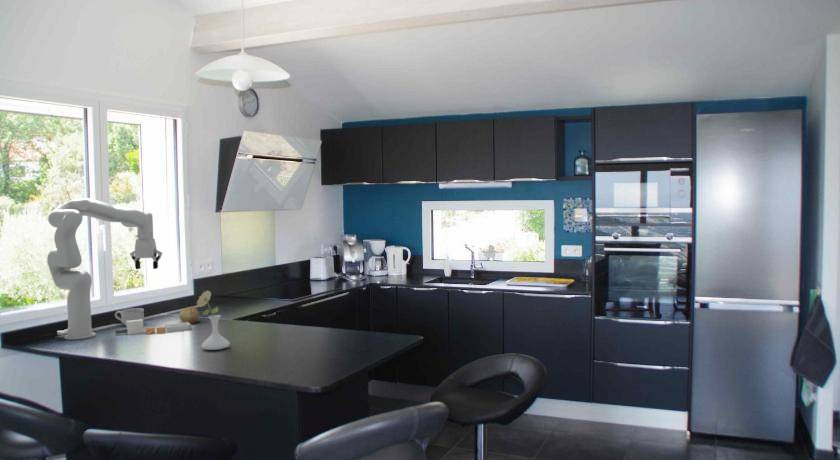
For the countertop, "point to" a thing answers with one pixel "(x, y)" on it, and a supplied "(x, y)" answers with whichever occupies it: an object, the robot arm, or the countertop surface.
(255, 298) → the countertop surface
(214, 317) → the flower in vase
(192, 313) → the bread roll
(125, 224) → the robot arm
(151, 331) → the clip
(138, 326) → the connector
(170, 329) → the holder
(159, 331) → the clip
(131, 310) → the teacup
